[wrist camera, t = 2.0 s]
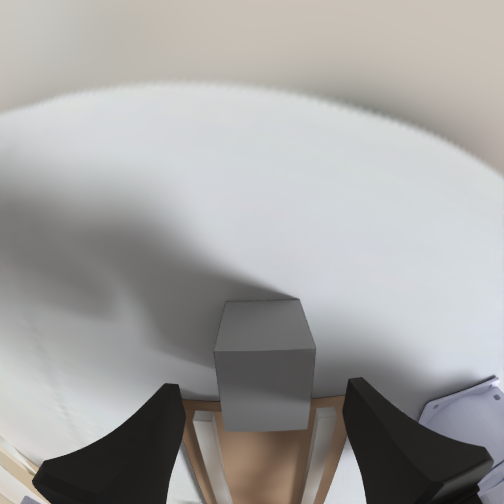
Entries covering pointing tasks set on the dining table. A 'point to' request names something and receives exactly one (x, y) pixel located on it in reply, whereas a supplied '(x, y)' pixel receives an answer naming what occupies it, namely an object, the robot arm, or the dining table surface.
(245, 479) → the rail board
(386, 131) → the dining table surface
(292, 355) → the block
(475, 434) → the robot arm
